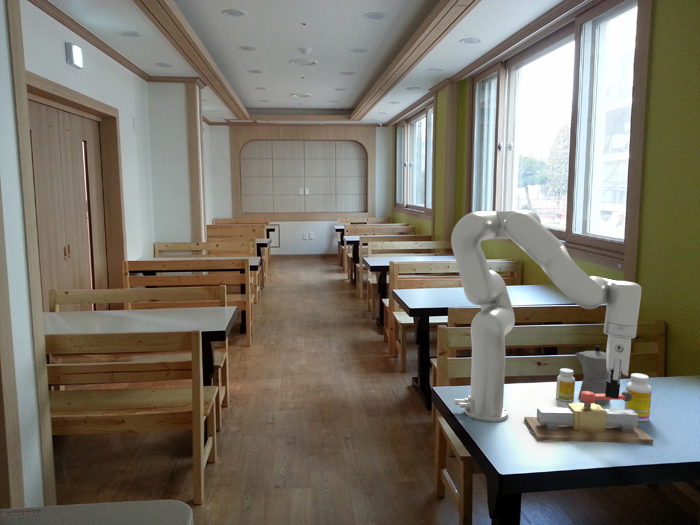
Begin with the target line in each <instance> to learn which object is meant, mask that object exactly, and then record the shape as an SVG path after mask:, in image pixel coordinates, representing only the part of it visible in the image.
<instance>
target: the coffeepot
mask: <svg viewBox="0 0 700 525" xmlns="http://www.w3.org/2000/svg"><path fill="white" fill-rule="evenodd" d="M594 349H595V350H585V351H580V352H579V351H577V352H575V353H574V356H576V358H577V359H578V361H579V363H580V365H581V367H582V374H583V379H582V382H581V386H580V389H579V393H578V400H579V401H581V392H582V391H589V392H593V393H595V394H605V389H606V381H607V380H608V372H607V368H606V352H604V351H601V346H600V345H595V346H594ZM622 377H623V373H622V371H621V378H620V380H621V379H622ZM610 402H611V400H595V402H594V404H597V405H604V406H608V405H609V404H610ZM608 403H609V404H608Z"/></svg>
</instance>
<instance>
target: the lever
mask: <svg viewBox="0 0 700 525" xmlns="http://www.w3.org/2000/svg"><path fill="white" fill-rule="evenodd" d="M631 399H632V394H631V393H630V392H628V391H626V390H624V391H622V392H621V393H620V392H619V398H618V399H616V398H610V397H606V396H605V394H595V393H593V392H589V391H582V392H581V400H580V401H581V402H582V401H583V402H582V403H584V407H587V408H590V407H591V403H594V402H595V400H610V401H615V400H617V401H618V400H622V401H624V402H625V401H626V402H628V401H630V400H631Z"/></svg>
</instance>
